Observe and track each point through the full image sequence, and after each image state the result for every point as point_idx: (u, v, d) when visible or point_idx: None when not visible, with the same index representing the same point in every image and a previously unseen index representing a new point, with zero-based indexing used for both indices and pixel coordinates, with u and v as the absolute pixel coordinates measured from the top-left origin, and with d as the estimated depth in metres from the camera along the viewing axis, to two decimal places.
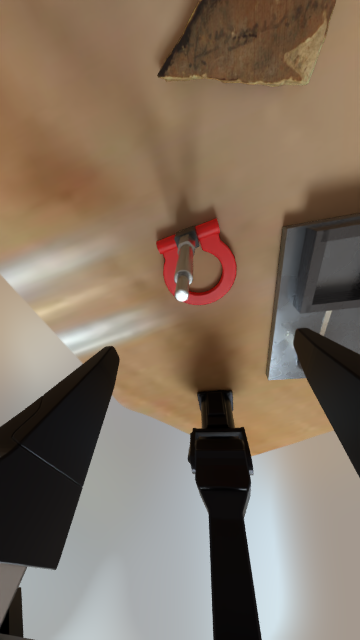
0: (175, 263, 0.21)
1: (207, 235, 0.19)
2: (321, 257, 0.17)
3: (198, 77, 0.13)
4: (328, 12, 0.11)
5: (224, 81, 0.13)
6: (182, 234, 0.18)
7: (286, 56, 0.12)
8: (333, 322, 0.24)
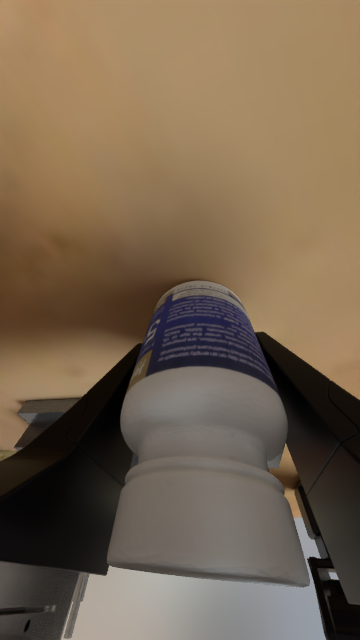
0: None
1: None
2: None
3: None
4: None
5: None
6: None
7: None
8: None
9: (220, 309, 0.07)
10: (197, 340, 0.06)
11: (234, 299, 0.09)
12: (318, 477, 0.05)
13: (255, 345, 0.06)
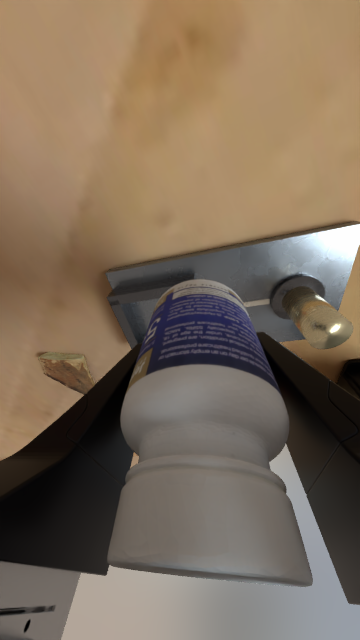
0: None
1: None
2: None
3: None
4: (63, 361, 0.27)
5: (93, 384, 0.30)
6: None
7: (78, 369, 0.28)
8: None
9: (220, 307, 0.07)
10: (198, 338, 0.06)
11: (234, 297, 0.09)
12: (318, 477, 0.05)
13: (256, 343, 0.06)
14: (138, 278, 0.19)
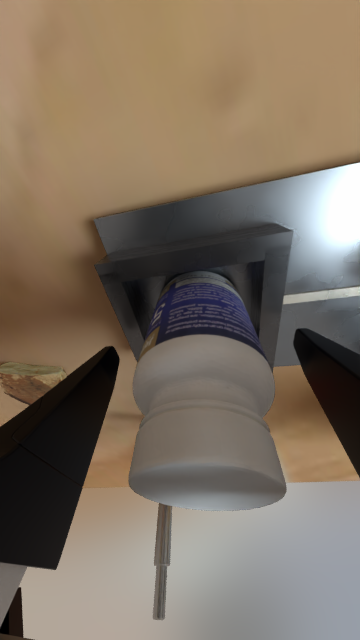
0: None
1: None
2: None
3: None
4: (30, 377, 0.17)
5: None
6: None
7: None
8: (335, 276, 0.10)
9: (218, 293, 0.08)
10: (198, 316, 0.07)
11: (230, 286, 0.10)
12: None
13: (248, 323, 0.07)
14: (159, 232, 0.10)
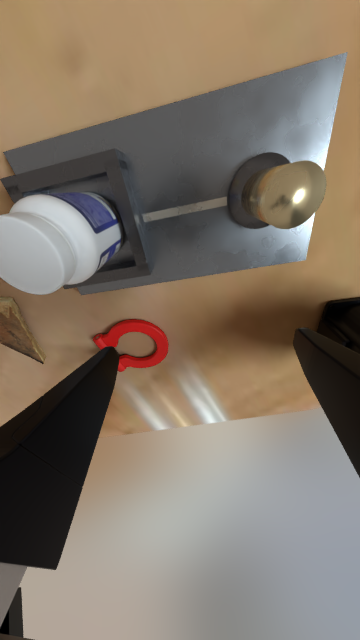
0: (130, 361, 0.27)
1: (104, 345, 0.25)
2: None
3: (35, 349, 0.26)
4: None
5: (31, 340, 0.25)
6: None
7: (7, 317, 0.23)
8: (178, 195, 0.15)
9: (77, 194, 0.13)
10: None
11: (100, 199, 0.14)
12: None
13: (89, 206, 0.12)
14: (50, 161, 0.14)
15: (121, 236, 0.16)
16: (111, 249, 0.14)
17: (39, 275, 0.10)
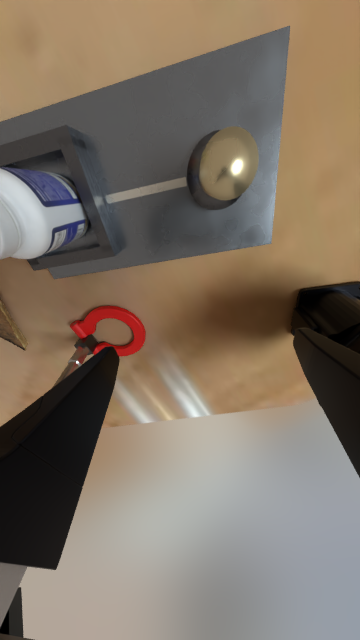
0: None
1: (81, 331, 0.25)
2: (50, 258, 0.18)
3: (16, 335, 0.27)
4: None
5: (11, 325, 0.26)
6: None
7: None
8: (138, 175, 0.15)
9: (33, 171, 0.13)
10: None
11: (61, 179, 0.15)
12: None
13: (41, 181, 0.12)
14: None
15: (85, 217, 0.16)
16: (70, 227, 0.15)
17: None
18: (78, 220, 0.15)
